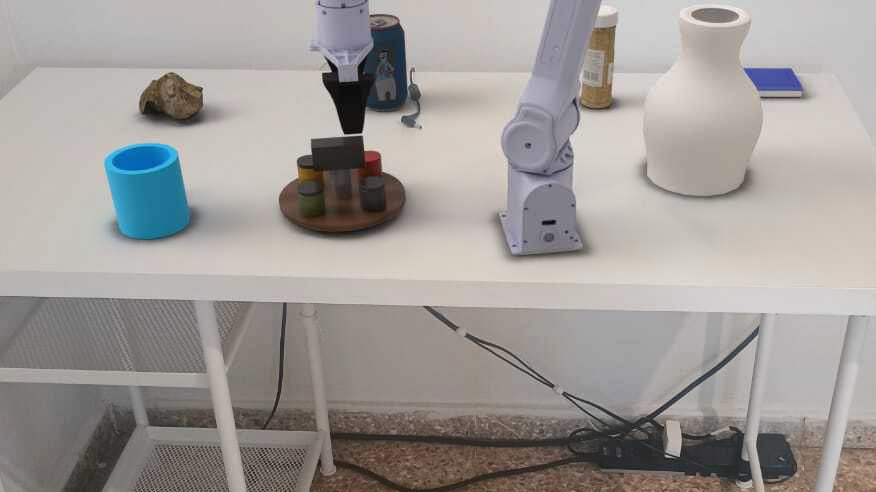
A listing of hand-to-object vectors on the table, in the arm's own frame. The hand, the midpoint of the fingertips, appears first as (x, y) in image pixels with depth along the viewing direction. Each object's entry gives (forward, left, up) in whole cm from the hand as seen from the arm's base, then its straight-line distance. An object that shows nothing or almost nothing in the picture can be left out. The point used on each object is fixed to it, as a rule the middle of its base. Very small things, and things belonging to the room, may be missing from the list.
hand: (351, 119), depth 119 cm
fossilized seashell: (+30, +25, -11) cm, 41 cm away
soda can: (+29, -5, -11) cm, 32 cm away
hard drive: (+26, -59, -11) cm, 66 cm away
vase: (0, -42, -11) cm, 43 cm away
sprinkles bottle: (+24, -35, -11) cm, 44 cm away
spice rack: (-2, +2, -10) cm, 11 cm away
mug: (0, +24, -11) cm, 26 cm away
